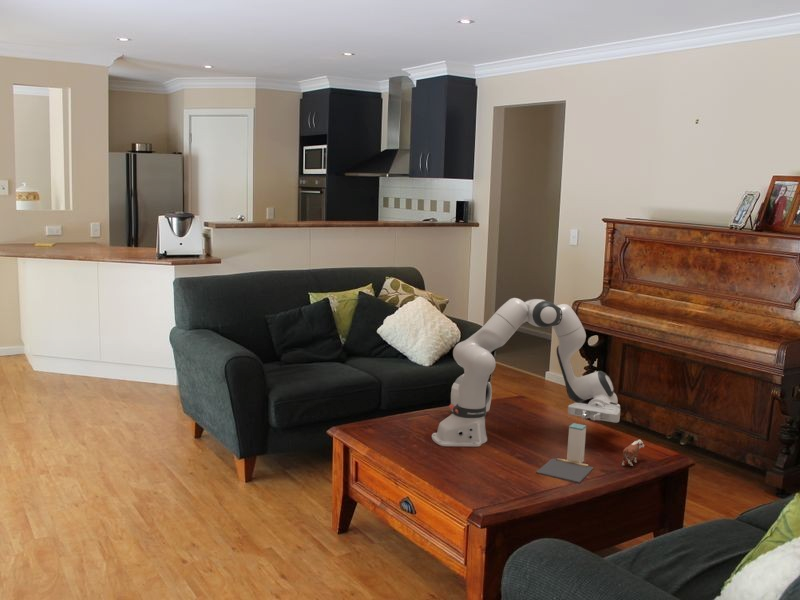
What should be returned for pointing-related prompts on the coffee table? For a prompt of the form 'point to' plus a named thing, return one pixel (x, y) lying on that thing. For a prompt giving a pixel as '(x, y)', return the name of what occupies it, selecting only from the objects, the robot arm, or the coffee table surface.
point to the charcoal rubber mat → (565, 470)
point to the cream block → (576, 442)
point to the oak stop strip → (572, 462)
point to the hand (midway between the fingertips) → (588, 417)
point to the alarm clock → (455, 393)
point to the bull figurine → (632, 451)
